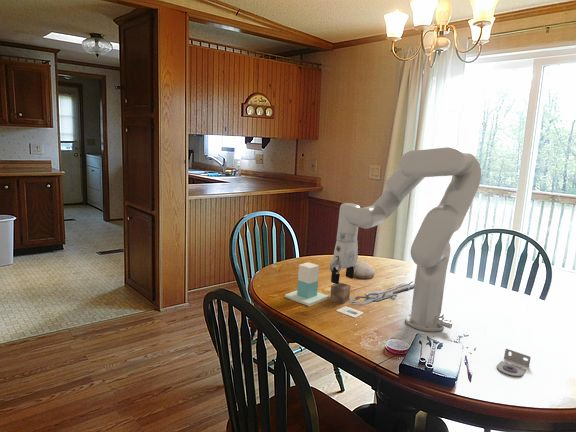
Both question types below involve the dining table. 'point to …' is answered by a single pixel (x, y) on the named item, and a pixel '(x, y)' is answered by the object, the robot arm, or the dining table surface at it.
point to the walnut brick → (340, 293)
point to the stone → (363, 270)
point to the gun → (381, 294)
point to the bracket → (514, 369)
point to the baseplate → (306, 301)
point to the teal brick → (307, 289)
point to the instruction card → (350, 311)
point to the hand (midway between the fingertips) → (342, 280)
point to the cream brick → (308, 272)
